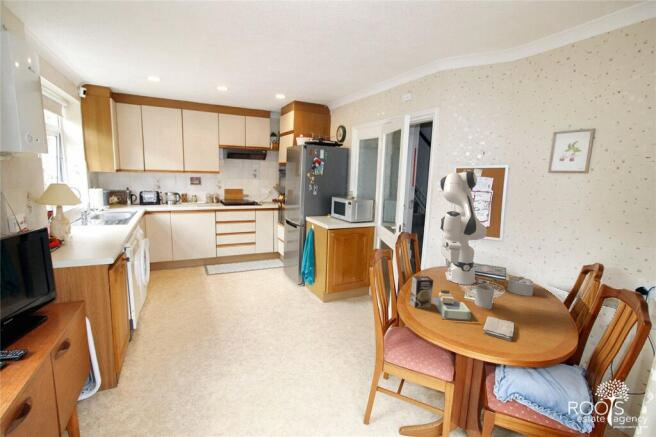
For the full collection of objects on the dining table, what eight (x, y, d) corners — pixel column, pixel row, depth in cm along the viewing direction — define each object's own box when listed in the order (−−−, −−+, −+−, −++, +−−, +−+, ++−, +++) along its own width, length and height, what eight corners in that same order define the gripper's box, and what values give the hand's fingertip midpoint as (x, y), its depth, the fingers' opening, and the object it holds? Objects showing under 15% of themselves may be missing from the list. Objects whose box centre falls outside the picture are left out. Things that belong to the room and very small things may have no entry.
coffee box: (414, 309, 163) (417, 280, 160) (409, 304, 169) (412, 275, 166) (430, 309, 164) (433, 280, 161) (425, 303, 170) (428, 275, 168)
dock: (430, 298, 177) (431, 290, 176) (455, 300, 176) (456, 292, 175) (442, 319, 153) (443, 310, 152) (471, 321, 152) (472, 312, 151)
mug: (490, 311, 164) (492, 291, 163) (472, 306, 169) (475, 287, 167) (493, 303, 174) (496, 284, 172) (477, 299, 179) (479, 281, 177)
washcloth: (482, 334, 141) (482, 328, 141) (486, 319, 156) (487, 313, 156) (512, 343, 135) (513, 337, 135) (513, 326, 150) (514, 320, 150)
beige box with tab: (438, 298, 175) (439, 289, 174) (449, 299, 174) (450, 290, 173) (441, 304, 168) (443, 294, 167) (453, 305, 167) (454, 295, 167)
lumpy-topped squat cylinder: (532, 297, 185) (534, 283, 184) (507, 292, 192) (509, 278, 190) (531, 291, 194) (533, 278, 193) (507, 286, 200) (509, 273, 199)
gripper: (439, 237, 179) (437, 260, 181) (450, 246, 159) (447, 271, 161) (450, 237, 178) (448, 260, 181) (462, 246, 158) (459, 272, 161)
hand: (447, 266), depth 171 cm, fingers closed
